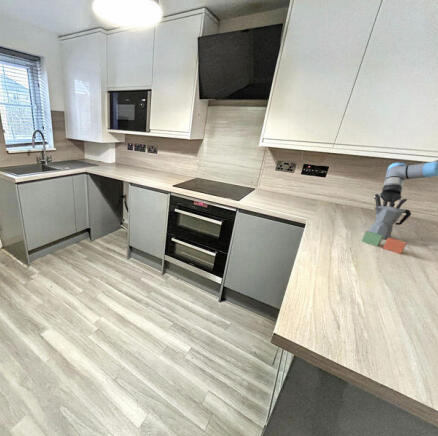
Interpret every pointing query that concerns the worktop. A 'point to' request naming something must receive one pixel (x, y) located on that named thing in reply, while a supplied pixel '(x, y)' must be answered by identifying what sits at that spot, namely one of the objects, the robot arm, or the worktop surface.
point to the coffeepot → (387, 219)
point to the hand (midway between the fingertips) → (383, 223)
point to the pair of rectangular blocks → (389, 245)
